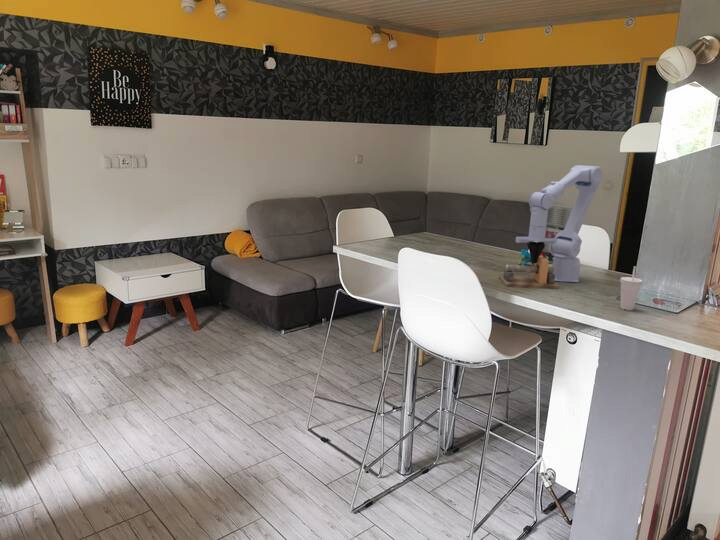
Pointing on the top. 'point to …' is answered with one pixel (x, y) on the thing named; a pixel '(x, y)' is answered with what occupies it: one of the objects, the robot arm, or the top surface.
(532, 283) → the pipe rig
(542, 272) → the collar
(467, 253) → the top surface
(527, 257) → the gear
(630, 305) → the smoothie
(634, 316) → the top surface
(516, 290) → the top surface
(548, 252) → the grey boxy piece
